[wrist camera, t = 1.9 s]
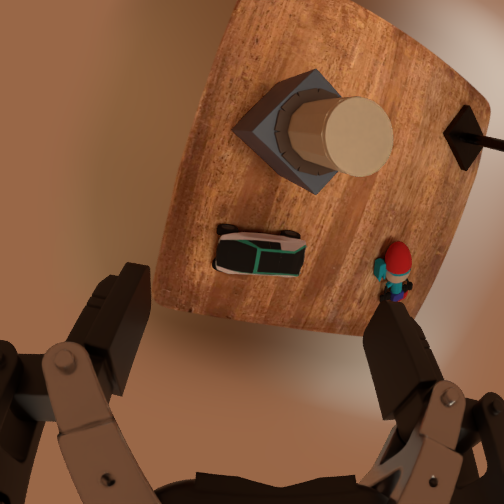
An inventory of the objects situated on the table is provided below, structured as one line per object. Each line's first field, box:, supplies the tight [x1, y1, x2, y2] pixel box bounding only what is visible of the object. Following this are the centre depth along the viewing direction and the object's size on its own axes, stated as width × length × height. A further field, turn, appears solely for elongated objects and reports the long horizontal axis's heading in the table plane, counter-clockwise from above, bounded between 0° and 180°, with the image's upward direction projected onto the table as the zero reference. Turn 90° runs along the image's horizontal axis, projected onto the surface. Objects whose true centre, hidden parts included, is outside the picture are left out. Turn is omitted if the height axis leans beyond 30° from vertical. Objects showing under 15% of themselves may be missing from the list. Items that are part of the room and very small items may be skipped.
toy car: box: [212, 224, 307, 277], centre depth 42 cm, size 6×12×5 cm, turn 80°
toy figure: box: [374, 241, 413, 302], centre depth 50 cm, size 8×5×15 cm
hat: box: [274, 88, 393, 177], centre depth 24 cm, size 8×8×8 cm
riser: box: [231, 69, 342, 195], centre depth 33 cm, size 9×9×12 cm
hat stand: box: [443, 105, 504, 171], centre depth 38 cm, size 9×9×16 cm
